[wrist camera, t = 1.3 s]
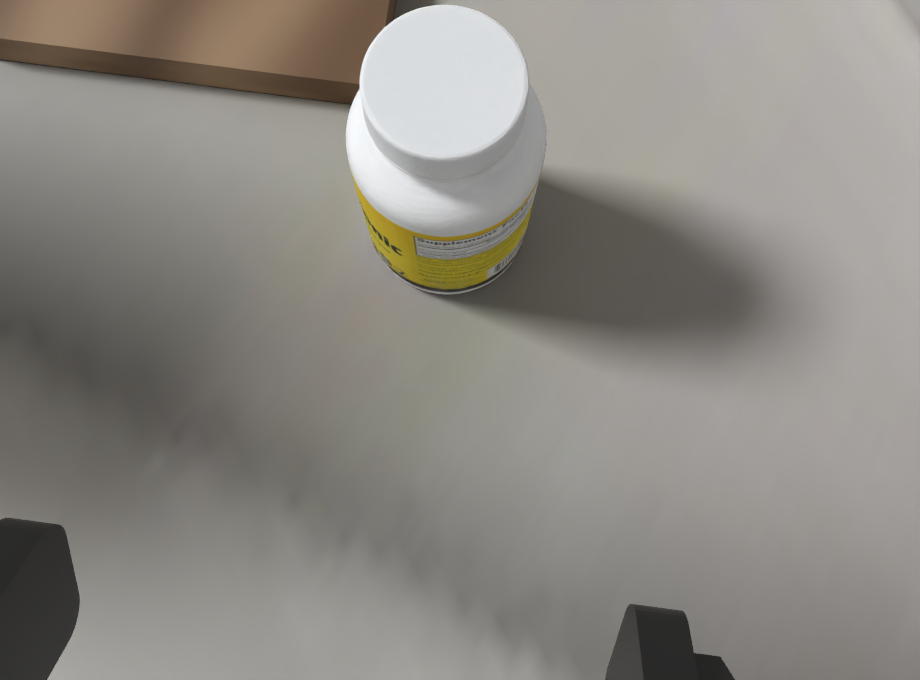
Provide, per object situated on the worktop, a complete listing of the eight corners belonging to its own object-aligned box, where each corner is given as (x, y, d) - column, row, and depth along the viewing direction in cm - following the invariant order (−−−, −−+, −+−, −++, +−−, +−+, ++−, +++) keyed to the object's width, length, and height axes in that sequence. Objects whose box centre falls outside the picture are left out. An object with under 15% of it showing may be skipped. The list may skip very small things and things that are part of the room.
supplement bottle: (359, 161, 29) (317, -13, 20) (512, 142, 30) (543, -39, 20) (378, 309, 28) (343, 201, 19) (537, 288, 28) (582, 170, 19)
